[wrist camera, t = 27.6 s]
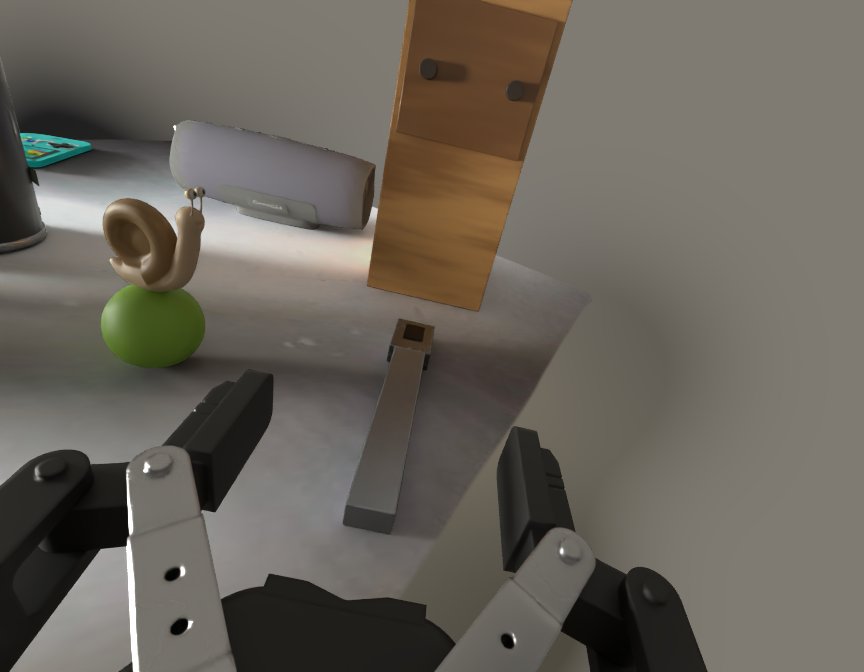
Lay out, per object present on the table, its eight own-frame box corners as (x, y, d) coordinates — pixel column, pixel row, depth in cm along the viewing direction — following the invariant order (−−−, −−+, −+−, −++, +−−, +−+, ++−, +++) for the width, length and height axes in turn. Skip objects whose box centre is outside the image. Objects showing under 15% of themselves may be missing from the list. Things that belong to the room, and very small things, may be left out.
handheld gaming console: (93, 141, 64) (35, 160, 52) (94, 148, 65) (37, 168, 52) (26, 129, 62) (-52, 146, 50) (27, 137, 63) (-49, 156, 50)
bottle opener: (398, 537, 21) (404, 515, 20) (333, 523, 20) (337, 500, 20) (431, 341, 37) (435, 325, 36) (395, 333, 37) (398, 316, 36)
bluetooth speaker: (370, 228, 60) (380, 154, 56) (356, 249, 52) (367, 164, 47) (210, 192, 59) (206, 113, 54) (171, 207, 51) (162, 116, 46)
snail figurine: (180, 401, 25) (158, 198, 19) (86, 369, 26) (35, 162, 20) (237, 356, 30) (233, 181, 24) (156, 330, 30) (132, 153, 24)
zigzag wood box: (478, 318, 43) (620, -144, 26) (363, 292, 43) (433, -195, 26) (477, 263, 57) (567, -59, 41) (390, 243, 57) (447, -90, 40)
